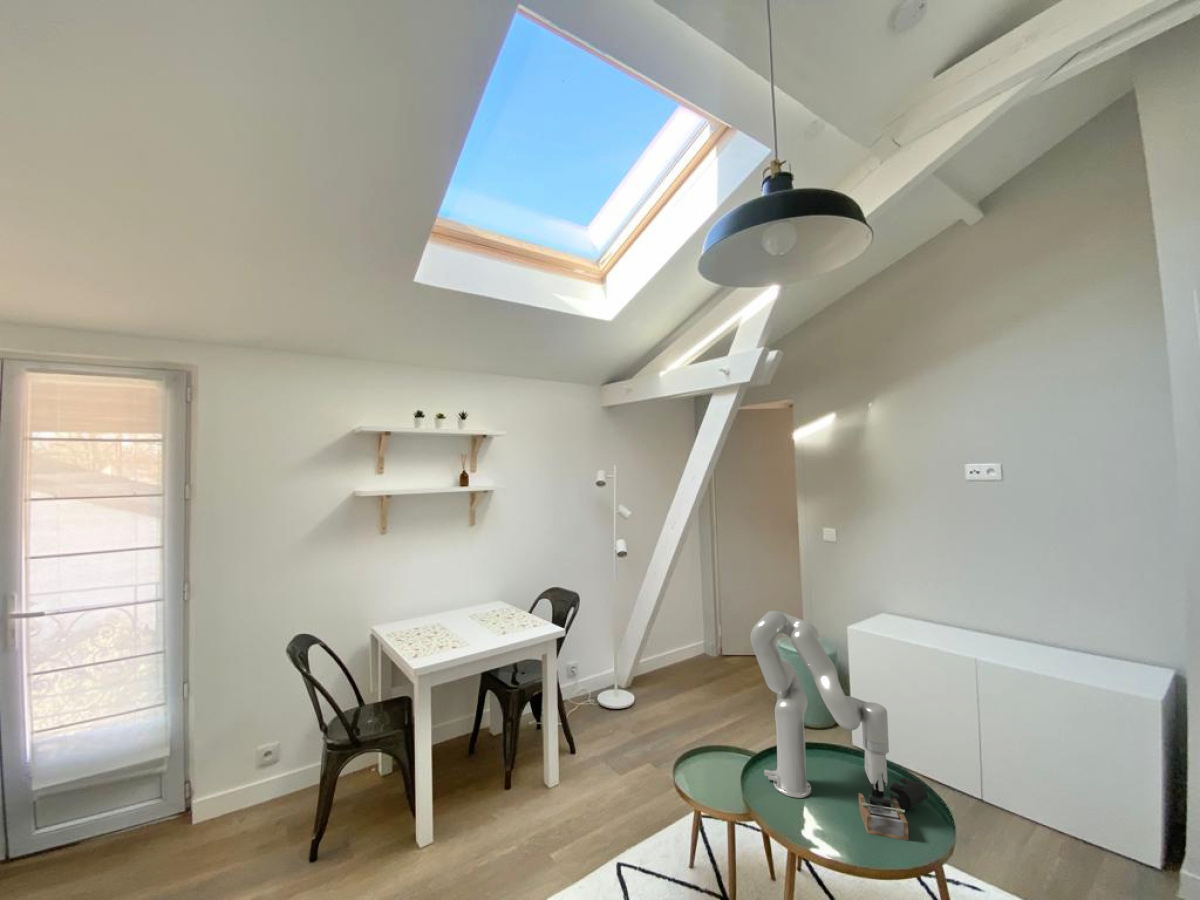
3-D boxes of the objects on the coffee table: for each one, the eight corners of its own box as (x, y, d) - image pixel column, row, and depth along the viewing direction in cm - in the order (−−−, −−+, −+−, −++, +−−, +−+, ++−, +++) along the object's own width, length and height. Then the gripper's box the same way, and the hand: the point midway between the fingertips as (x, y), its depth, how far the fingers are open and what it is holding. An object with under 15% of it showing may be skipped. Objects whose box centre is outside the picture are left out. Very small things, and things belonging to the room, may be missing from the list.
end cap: (911, 816, 160) (910, 794, 160) (889, 803, 166) (889, 783, 167) (928, 806, 165) (927, 785, 165) (906, 794, 171) (905, 774, 171)
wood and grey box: (867, 833, 152) (866, 815, 152) (859, 808, 164) (858, 792, 164) (908, 840, 149) (907, 822, 149) (896, 815, 160) (896, 798, 161)
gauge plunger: (863, 821, 155) (863, 804, 156) (859, 809, 161) (858, 792, 162) (906, 829, 152) (906, 811, 152) (900, 816, 158) (899, 799, 158)
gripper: (858, 731, 171) (860, 786, 170) (868, 753, 157) (870, 813, 156) (882, 734, 169) (884, 790, 168) (894, 757, 155) (897, 818, 153)
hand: (877, 801), depth 162 cm, fingers closed
